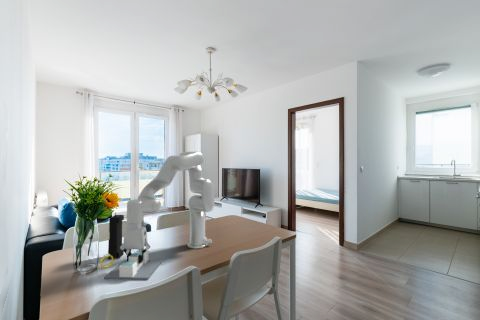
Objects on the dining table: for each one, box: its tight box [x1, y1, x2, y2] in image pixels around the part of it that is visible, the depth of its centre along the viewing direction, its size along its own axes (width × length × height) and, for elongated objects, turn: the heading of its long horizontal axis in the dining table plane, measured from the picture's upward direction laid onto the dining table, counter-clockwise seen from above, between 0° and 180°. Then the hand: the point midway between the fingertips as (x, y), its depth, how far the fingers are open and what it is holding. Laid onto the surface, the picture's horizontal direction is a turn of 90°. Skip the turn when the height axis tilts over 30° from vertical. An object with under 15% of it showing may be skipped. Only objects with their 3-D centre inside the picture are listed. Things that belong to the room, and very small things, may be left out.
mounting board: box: [103, 249, 163, 281], centre depth 112 cm, size 20×18×6 cm
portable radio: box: [107, 212, 125, 260], centre depth 127 cm, size 8×6×25 cm
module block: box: [128, 251, 142, 269], centre depth 112 cm, size 4×6×6 cm, turn 0°
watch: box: [99, 253, 115, 269], centre depth 115 cm, size 6×3×6 cm, turn 143°
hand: (135, 261), depth 112 cm, fingers open, 4 cm apart
